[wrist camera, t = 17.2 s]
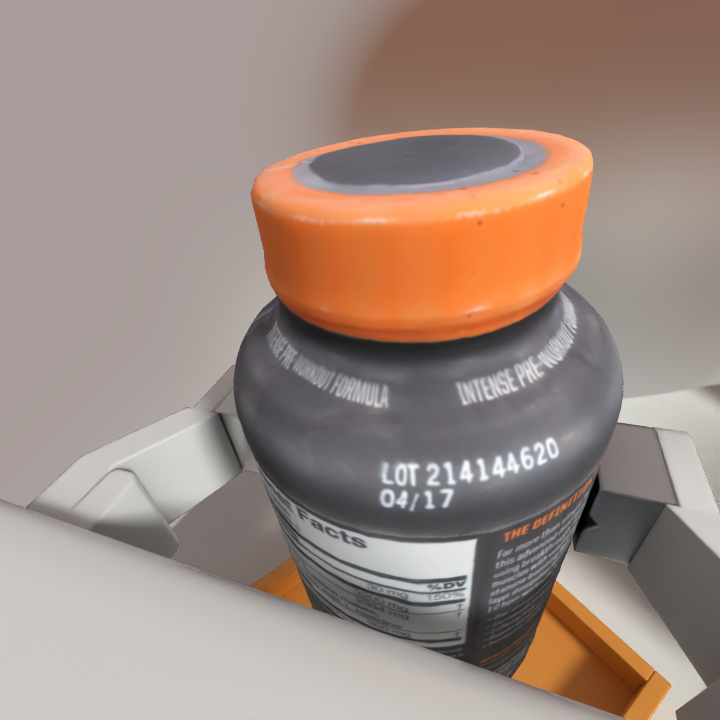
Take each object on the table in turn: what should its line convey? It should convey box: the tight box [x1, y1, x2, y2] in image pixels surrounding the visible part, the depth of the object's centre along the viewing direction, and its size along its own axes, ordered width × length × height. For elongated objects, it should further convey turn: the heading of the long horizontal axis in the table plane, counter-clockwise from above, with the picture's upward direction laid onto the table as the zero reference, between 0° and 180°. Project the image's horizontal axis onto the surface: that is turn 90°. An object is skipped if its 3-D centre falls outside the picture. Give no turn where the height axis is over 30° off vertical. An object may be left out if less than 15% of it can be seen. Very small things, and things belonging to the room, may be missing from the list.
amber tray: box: [251, 557, 671, 720], centre depth 18 cm, size 13×13×2 cm
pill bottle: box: [233, 128, 623, 678], centre depth 8 cm, size 6×6×11 cm
